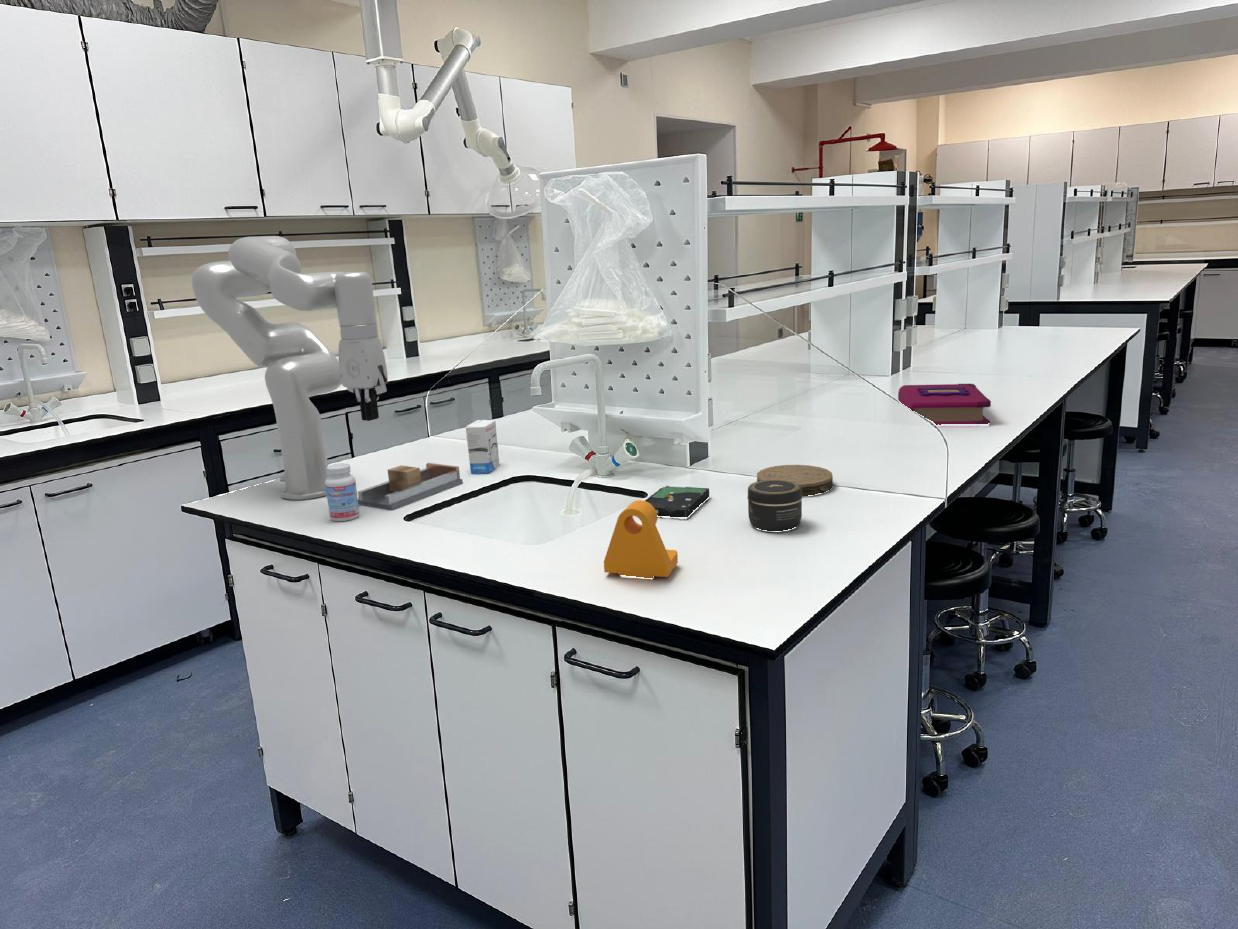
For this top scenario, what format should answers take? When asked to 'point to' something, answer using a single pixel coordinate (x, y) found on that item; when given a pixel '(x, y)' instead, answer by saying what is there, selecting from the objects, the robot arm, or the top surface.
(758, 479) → the cork trivet
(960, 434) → the top surface
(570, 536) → the top surface
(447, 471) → the chute
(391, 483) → the block
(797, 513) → the jar
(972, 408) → the book
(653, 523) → the bracket
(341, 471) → the pill bottle
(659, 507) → the disk drive
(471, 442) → the ink box
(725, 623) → the top surface
